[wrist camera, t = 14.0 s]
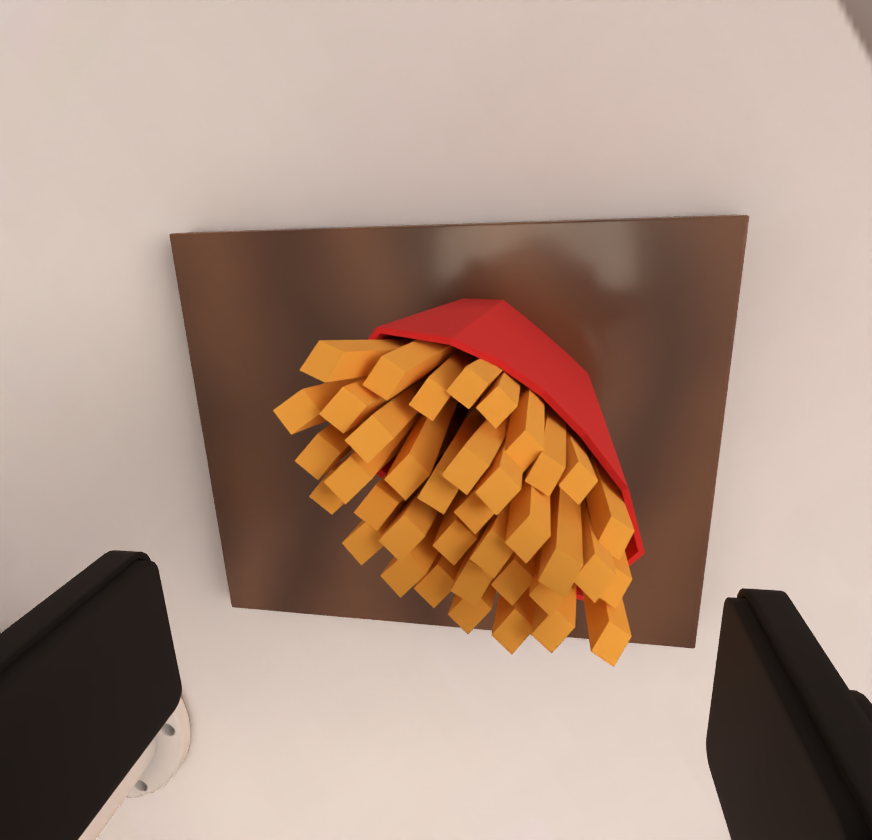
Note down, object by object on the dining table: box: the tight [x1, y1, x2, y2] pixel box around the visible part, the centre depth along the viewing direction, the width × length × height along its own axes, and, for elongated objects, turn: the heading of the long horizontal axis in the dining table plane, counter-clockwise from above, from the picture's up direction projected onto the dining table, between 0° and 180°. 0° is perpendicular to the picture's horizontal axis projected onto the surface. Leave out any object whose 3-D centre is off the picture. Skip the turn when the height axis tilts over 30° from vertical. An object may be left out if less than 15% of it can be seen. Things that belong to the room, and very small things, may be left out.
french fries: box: [273, 298, 645, 667], centre depth 18 cm, size 9×4×13 cm, turn 50°
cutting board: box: [170, 215, 749, 648], centre depth 26 cm, size 22×18×2 cm
